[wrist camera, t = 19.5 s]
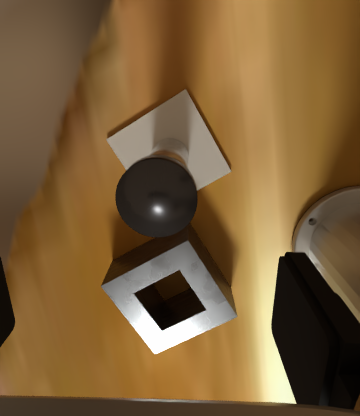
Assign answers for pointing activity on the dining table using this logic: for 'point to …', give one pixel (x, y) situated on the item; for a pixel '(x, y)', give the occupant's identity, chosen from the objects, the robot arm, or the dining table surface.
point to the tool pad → (178, 129)
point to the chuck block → (177, 306)
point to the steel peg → (158, 191)
